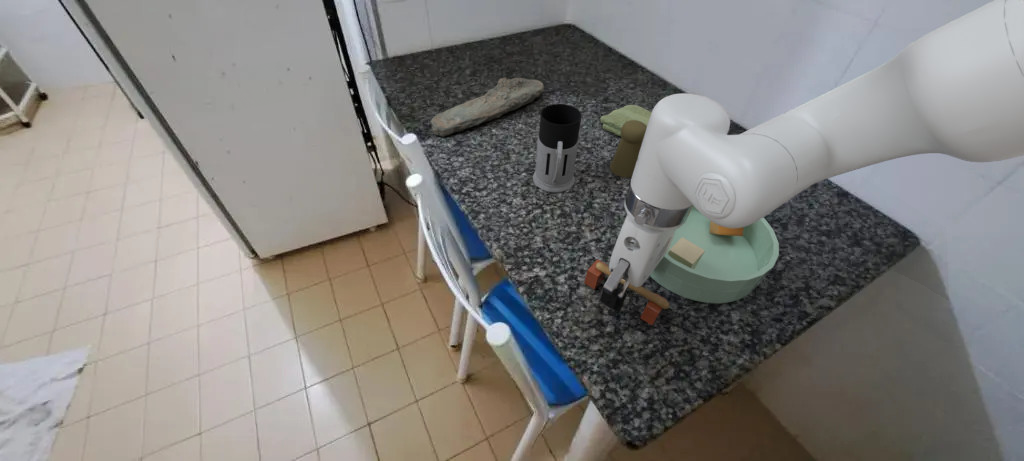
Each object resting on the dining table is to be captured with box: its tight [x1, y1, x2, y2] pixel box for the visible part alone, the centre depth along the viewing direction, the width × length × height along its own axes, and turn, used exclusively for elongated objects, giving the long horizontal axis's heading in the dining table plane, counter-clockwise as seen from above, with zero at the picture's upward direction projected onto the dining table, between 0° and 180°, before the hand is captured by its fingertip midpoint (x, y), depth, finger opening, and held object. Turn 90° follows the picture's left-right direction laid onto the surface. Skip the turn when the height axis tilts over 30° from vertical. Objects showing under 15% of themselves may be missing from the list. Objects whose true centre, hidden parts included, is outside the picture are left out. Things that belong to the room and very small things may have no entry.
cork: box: [609, 120, 647, 179], centre depth 81 cm, size 6×6×11 cm
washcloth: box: [599, 104, 652, 142], centre depth 94 cm, size 13×18×3 cm
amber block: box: [709, 221, 744, 236], centre depth 68 cm, size 4×4×4 cm
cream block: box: [668, 237, 705, 269], centre depth 63 cm, size 4×4×4 cm
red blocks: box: [584, 258, 668, 326], centre depth 60 cm, size 12×3×4 cm, turn 50°
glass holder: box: [532, 103, 583, 193], centre depth 75 cm, size 9×14×15 cm, turn 175°
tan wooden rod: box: [596, 262, 670, 310], centre depth 58 cm, size 12×1×1 cm
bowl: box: [649, 206, 780, 304], centre depth 66 cm, size 22×22×6 cm
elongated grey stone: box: [430, 77, 545, 137], centre depth 99 cm, size 35×5×10 cm
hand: (626, 284), depth 59 cm, fingers open, 9 cm apart
